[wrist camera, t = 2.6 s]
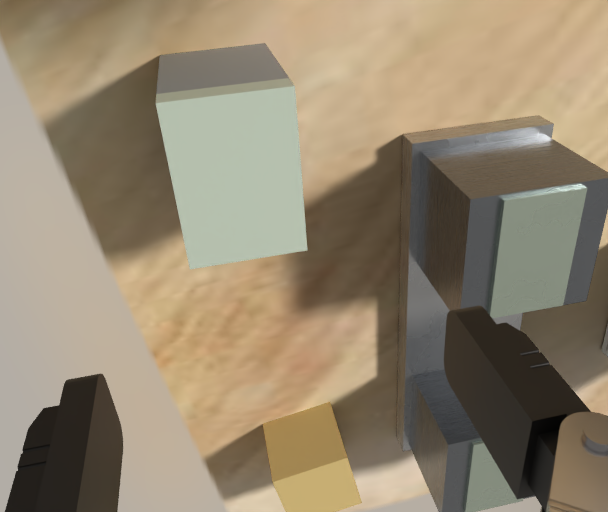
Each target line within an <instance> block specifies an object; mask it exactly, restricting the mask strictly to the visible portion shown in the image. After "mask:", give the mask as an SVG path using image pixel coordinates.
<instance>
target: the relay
mask: <svg viewBox="0 0 608 512" xmlns="http://www.w3.org/2000/svg"><path fill="white" fill-rule="evenodd" d="M263 429H264V435H265V441H266V447H267V452H268V458H269V464H270V470H271V476H272V482H273V484H274V487H275V489H276V491H277V493H278V496H279V498H280V500H281V502H282V504H283V507H284V509H285V511H286V512H336V511H339V510H342V509H345V508H348V507H351V506H354V505H357V504H360V503H362V502H361V499H360V495H359V492H358V489H357V486H356V483H355V480H354V476H353V473H352V470H351V467H350V464H349V461H348V457H347V454H346V451H345V448H344V445H343V442H342V438H341V435H340V432H339V429H338V426H337V423H336V419H335V416H334V413H333V410H332V407H331V404H330V402H328V403H325V404H322V405H319V406H316V407H313V408H310V409H307V410H304V411H301V412H298V413H295V414H292V415H289V416H285V417H282V418H279V419H276V420H273V421H270V422H267V423H264V424H263Z"/></svg>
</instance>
